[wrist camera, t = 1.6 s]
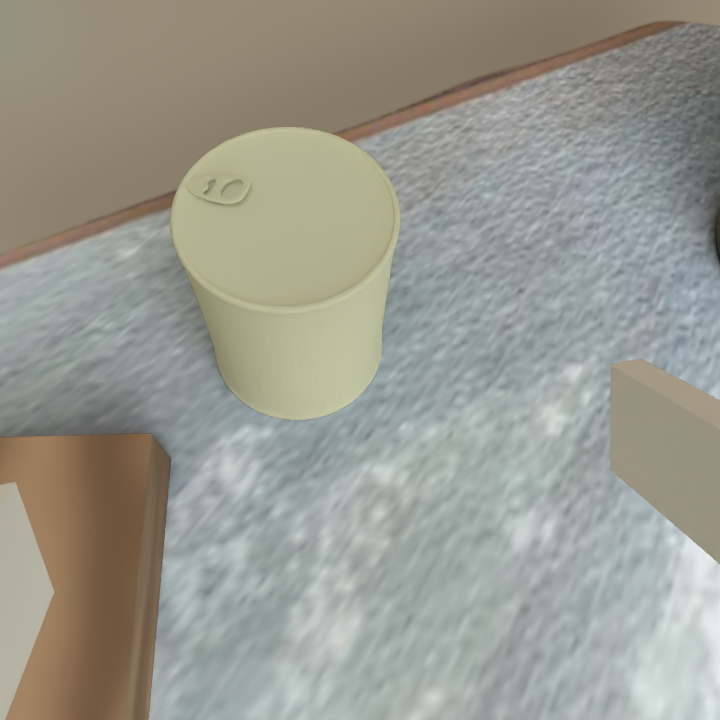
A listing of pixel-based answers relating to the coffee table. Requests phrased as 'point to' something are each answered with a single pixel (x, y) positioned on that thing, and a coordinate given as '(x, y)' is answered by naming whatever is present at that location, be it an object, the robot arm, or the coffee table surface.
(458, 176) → the coffee table surface
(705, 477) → the robot arm
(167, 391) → the coffee table surface
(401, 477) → the coffee table surface
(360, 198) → the can
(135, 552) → the plinth
